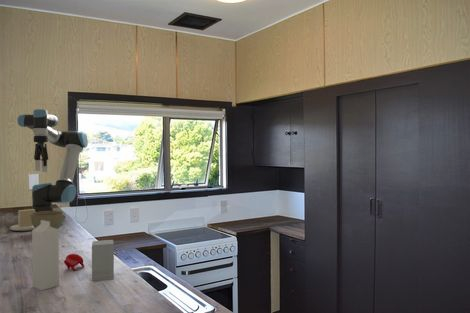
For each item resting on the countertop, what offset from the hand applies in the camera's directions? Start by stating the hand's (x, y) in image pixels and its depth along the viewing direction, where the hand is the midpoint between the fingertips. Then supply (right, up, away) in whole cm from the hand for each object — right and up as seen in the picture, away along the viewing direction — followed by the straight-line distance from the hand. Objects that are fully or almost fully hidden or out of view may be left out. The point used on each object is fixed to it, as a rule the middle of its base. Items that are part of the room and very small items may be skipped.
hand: (41, 171), depth 233 cm
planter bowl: (+12, -33, -17) cm, 39 cm away
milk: (+52, -35, -102) cm, 119 cm away
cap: (+54, -34, -83) cm, 105 cm away
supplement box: (+68, -35, -93) cm, 120 cm away
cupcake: (+8, -33, +4) cm, 34 cm away
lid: (-5, -32, -6) cm, 33 cm away
